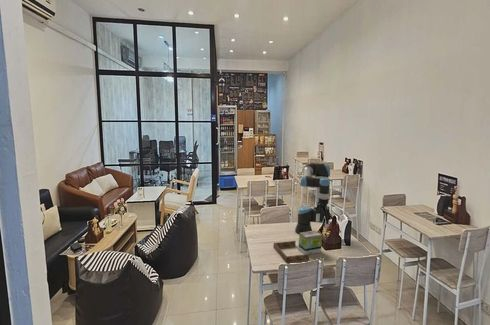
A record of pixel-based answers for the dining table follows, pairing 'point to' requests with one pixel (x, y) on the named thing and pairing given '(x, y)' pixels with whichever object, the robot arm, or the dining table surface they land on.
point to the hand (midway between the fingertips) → (321, 224)
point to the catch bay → (289, 258)
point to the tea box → (310, 242)
